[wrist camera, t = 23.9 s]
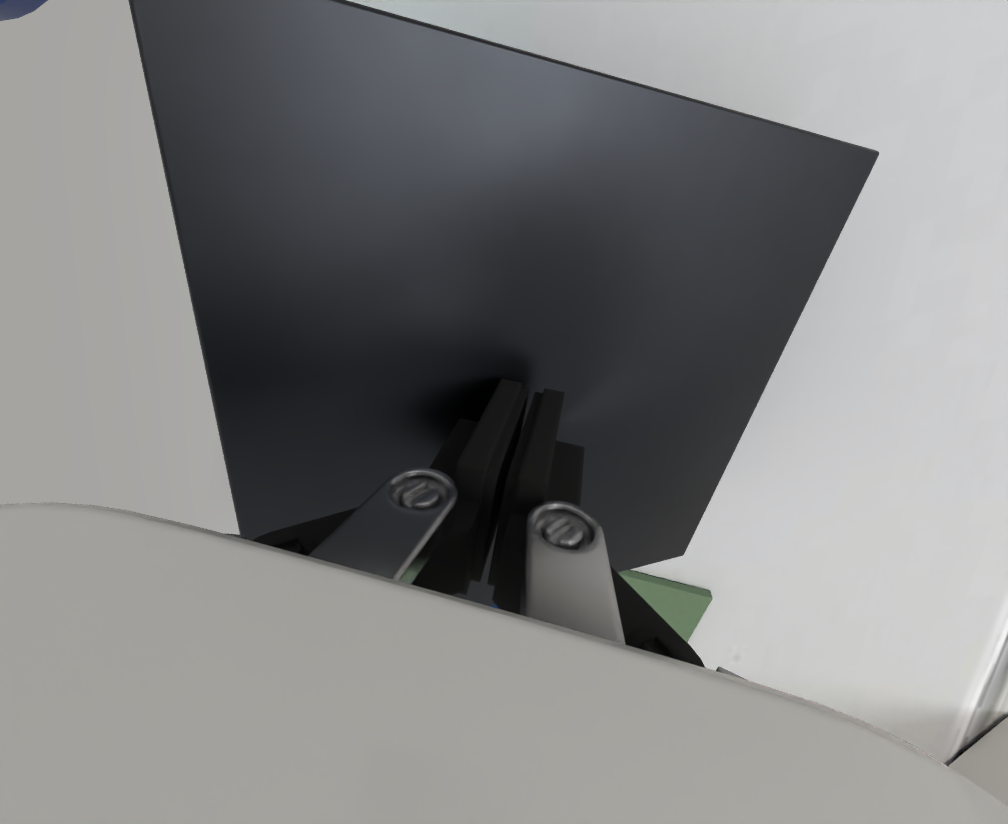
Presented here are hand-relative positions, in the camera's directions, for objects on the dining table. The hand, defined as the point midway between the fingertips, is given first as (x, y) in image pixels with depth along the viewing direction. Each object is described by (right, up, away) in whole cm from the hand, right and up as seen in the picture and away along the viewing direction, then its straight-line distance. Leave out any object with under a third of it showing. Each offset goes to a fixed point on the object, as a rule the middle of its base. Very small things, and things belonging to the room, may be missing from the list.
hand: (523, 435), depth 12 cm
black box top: (+1, +1, +2) cm, 2 cm away
